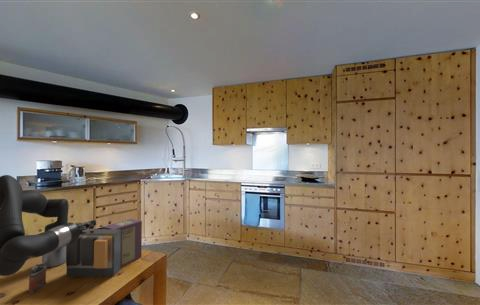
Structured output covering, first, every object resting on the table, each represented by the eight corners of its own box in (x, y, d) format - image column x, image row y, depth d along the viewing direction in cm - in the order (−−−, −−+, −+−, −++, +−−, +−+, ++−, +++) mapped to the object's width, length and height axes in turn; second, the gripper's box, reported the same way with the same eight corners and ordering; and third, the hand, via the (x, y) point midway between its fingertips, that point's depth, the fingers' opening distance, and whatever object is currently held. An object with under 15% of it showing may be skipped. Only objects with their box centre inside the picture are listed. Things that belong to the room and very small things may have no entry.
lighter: (40, 283, 105) (40, 260, 105) (48, 282, 105) (48, 260, 105) (25, 294, 97) (25, 269, 97) (34, 293, 97) (34, 269, 97)
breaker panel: (62, 278, 108) (63, 234, 109) (75, 269, 117) (75, 229, 117) (111, 279, 109) (111, 235, 109) (120, 270, 117) (120, 229, 117)
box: (113, 270, 117) (113, 229, 117) (101, 266, 121) (102, 226, 121) (141, 257, 132) (141, 221, 132) (130, 253, 136) (130, 218, 136)
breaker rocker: (93, 268, 106) (94, 241, 106) (97, 265, 109) (97, 239, 109) (105, 268, 106) (105, 241, 106) (108, 265, 109) (108, 239, 109)
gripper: (78, 226, 84) (109, 214, 102) (43, 225, 85) (79, 213, 103) (78, 247, 84) (108, 231, 102) (43, 246, 85) (79, 230, 103)
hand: (94, 222), depth 102 cm, fingers closed
